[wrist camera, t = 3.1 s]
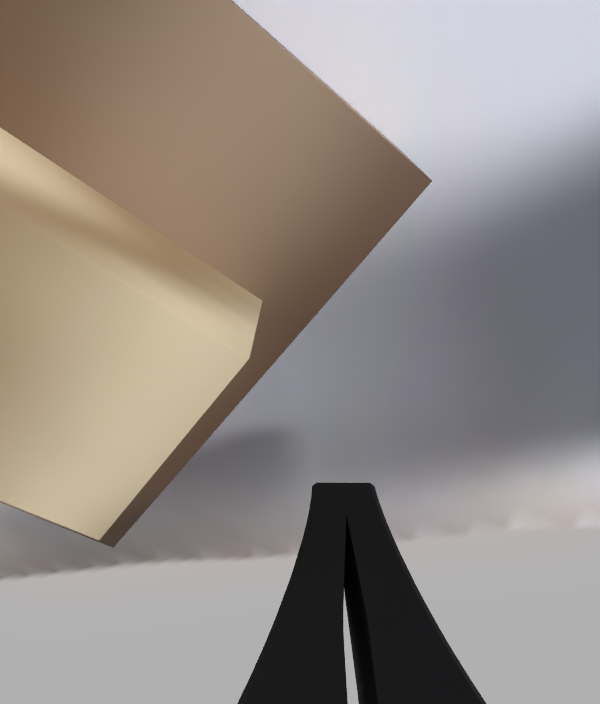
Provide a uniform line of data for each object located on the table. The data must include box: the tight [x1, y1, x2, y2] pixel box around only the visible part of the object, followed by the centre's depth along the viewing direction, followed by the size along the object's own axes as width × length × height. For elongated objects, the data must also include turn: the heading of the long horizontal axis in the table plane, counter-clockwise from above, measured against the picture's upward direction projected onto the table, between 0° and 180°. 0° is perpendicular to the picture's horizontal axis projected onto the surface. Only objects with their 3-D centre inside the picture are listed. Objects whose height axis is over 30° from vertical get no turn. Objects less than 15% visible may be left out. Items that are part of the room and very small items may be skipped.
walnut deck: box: [0, 0, 432, 547], centre depth 10 cm, size 12×13×3 cm
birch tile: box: [0, 128, 262, 540], centre depth 8 cm, size 7×6×2 cm
